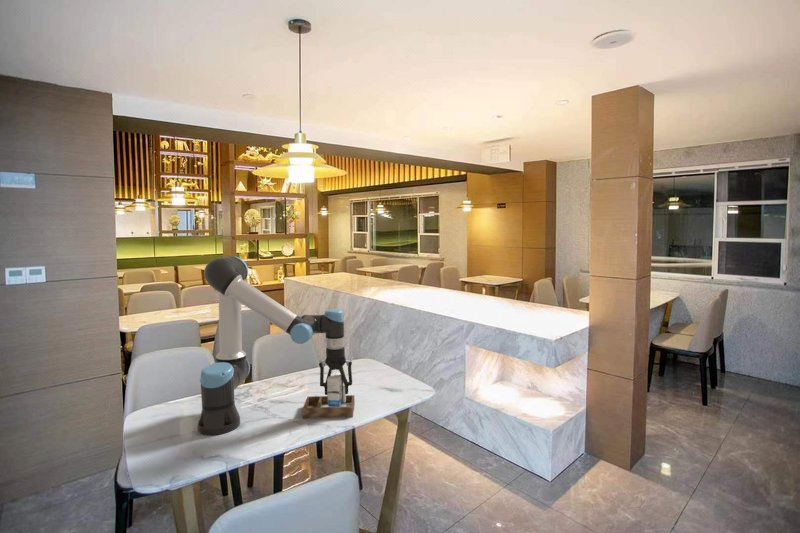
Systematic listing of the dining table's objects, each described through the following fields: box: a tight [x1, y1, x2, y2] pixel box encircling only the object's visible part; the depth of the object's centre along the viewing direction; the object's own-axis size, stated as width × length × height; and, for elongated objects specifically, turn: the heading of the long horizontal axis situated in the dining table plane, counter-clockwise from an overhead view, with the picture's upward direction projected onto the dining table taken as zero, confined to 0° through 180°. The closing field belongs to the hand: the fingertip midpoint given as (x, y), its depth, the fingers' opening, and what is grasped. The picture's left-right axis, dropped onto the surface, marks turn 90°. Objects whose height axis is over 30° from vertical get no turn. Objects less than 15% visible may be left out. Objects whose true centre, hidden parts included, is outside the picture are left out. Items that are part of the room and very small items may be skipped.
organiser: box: [301, 394, 356, 419], centre depth 182 cm, size 20×13×4 cm, turn 93°
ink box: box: [326, 371, 344, 407], centre depth 181 cm, size 9×5×12 cm, turn 169°
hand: (336, 401), depth 182 cm, fingers closed on ink box, 6 cm apart
